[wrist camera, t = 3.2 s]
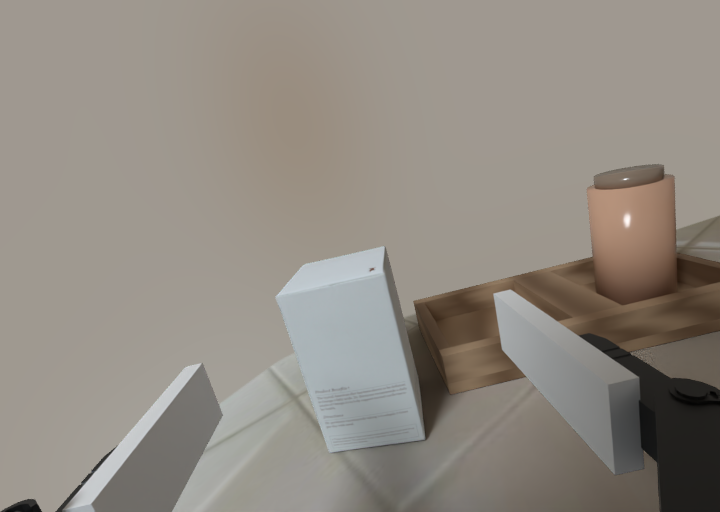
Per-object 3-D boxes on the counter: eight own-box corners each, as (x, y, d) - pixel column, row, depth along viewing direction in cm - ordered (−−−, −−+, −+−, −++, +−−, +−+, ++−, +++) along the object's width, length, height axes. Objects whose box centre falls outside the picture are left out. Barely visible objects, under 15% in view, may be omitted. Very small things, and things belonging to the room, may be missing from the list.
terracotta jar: (639, 280, 35) (632, 164, 32) (697, 300, 29) (695, 161, 26) (582, 294, 35) (570, 179, 32) (628, 317, 29) (620, 180, 27)
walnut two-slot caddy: (643, 274, 38) (642, 244, 37) (774, 317, 26) (776, 275, 26) (419, 328, 39) (413, 301, 38) (450, 394, 27) (442, 356, 26)
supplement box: (420, 377, 30) (388, 243, 27) (427, 443, 23) (386, 271, 20) (341, 389, 31) (303, 262, 28) (324, 455, 24) (271, 294, 21)
